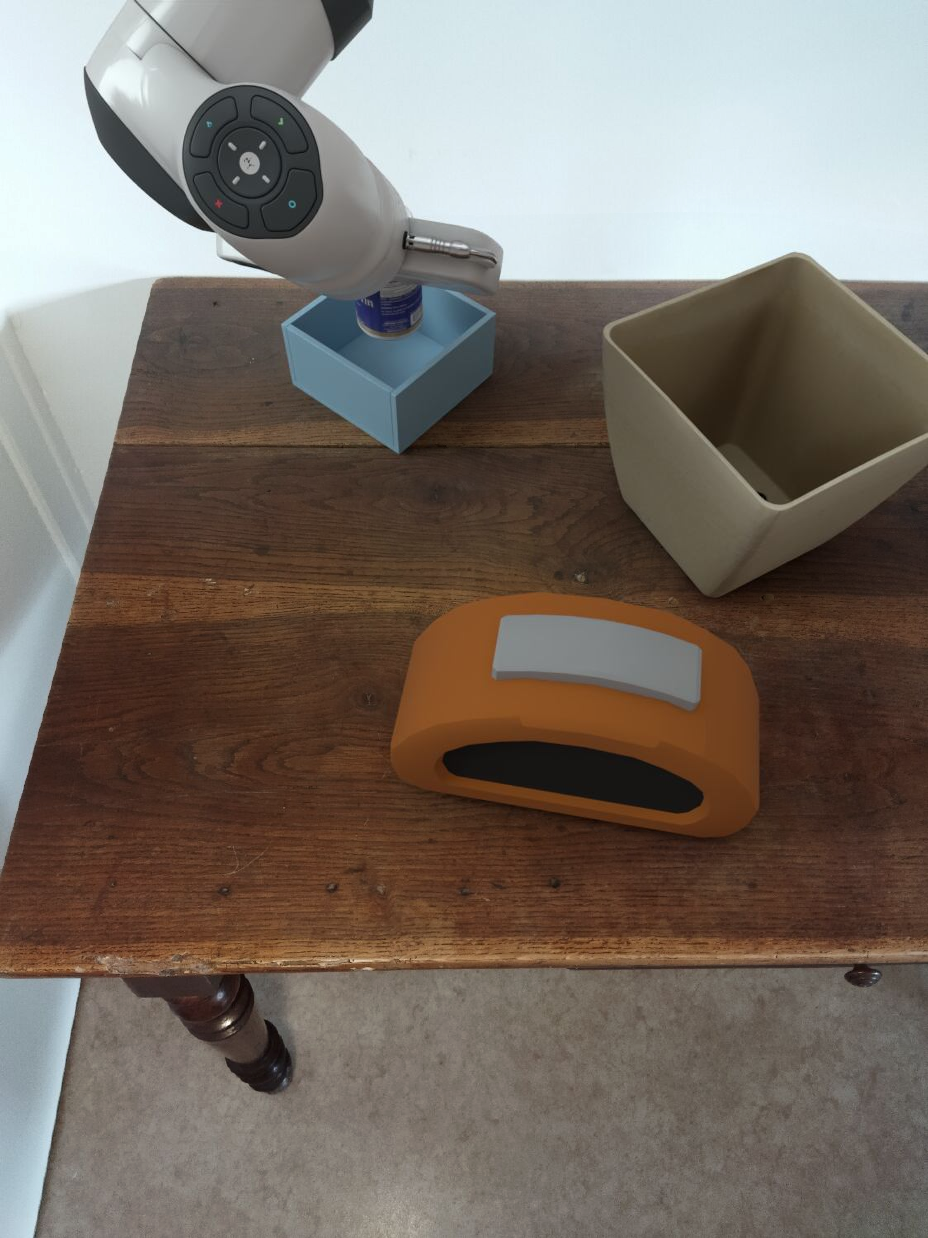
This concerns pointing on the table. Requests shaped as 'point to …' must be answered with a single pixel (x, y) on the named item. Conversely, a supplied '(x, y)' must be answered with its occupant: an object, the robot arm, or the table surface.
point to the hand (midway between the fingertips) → (388, 262)
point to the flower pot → (760, 417)
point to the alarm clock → (582, 714)
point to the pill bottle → (391, 310)
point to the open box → (391, 363)
